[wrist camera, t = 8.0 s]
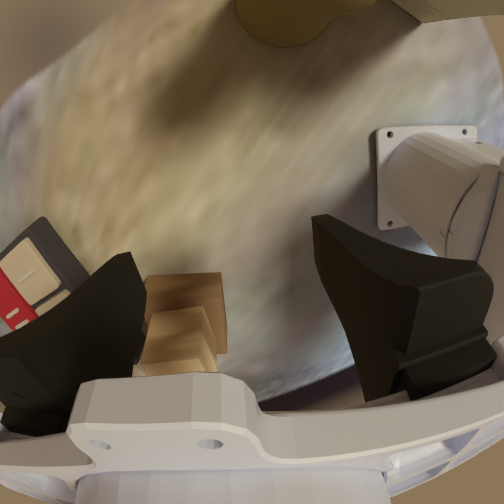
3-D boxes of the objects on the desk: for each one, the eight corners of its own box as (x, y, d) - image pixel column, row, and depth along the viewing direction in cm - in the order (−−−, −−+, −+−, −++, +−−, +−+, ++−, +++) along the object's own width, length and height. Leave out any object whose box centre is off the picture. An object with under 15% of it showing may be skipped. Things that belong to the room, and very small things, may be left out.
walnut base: (221, 270, 26) (220, 298, 22) (227, 324, 29) (227, 353, 26) (148, 273, 25) (139, 301, 22) (162, 326, 28) (157, 354, 25)
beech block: (202, 305, 23) (199, 358, 18) (216, 342, 25) (216, 393, 21) (152, 313, 23) (140, 364, 19) (170, 348, 25) (162, 398, 21)
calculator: (22, 231, 19) (138, 369, 25) (49, 209, 22) (148, 337, 29) (-30, 284, 21) (67, 391, 27) (-7, 262, 25) (79, 363, 31)
